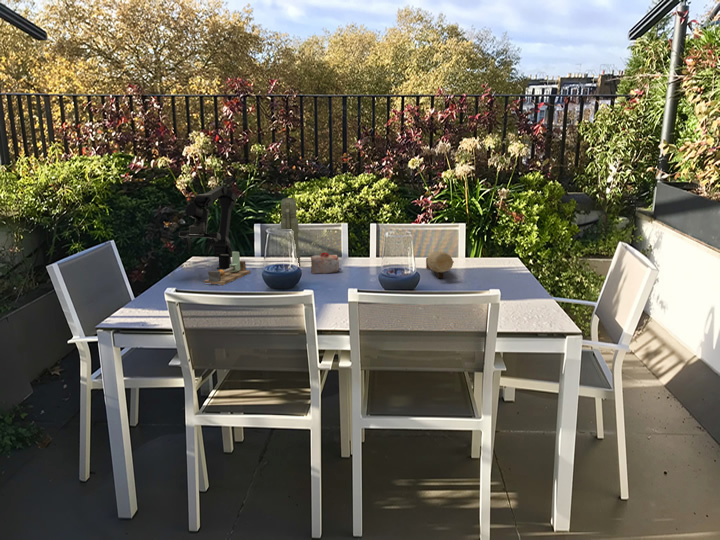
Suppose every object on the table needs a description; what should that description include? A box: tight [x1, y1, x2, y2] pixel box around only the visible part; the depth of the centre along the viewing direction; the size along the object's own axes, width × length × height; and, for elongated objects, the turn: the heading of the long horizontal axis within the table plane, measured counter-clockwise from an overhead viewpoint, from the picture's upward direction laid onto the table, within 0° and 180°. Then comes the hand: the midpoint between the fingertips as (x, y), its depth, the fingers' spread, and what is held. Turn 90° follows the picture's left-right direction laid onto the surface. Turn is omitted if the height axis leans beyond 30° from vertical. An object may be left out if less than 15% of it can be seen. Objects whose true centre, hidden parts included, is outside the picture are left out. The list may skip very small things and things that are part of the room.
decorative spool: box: [425, 251, 454, 279], centre depth 282 cm, size 10×12×30 cm
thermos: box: [280, 197, 301, 267], centre depth 306 cm, size 9×12×35 cm
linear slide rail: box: [204, 260, 251, 286], centre depth 287 cm, size 24×10×6 cm, turn 159°
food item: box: [310, 251, 340, 275], centre depth 295 cm, size 14×8×10 cm, turn 98°
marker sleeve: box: [230, 251, 241, 272], centre depth 292 cm, size 4×3×9 cm
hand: (198, 253), depth 283 cm, fingers open, 9 cm apart
